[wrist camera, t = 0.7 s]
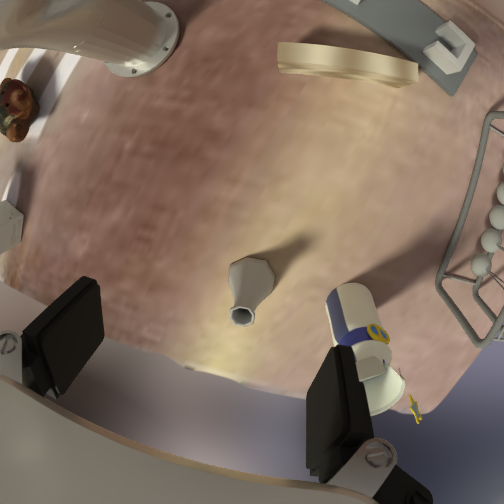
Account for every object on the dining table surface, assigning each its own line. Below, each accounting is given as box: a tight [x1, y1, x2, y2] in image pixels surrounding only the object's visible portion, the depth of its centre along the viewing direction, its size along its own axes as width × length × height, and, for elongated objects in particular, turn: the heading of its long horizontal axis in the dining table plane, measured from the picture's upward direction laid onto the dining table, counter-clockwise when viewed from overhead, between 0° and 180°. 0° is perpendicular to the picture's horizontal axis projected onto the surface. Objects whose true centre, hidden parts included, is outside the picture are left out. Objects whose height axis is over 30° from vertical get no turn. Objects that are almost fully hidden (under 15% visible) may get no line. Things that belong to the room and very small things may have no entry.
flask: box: [228, 257, 275, 327], centre depth 40 cm, size 7×7×10 cm
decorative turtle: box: [0, 78, 40, 142], centre depth 33 cm, size 10×15×8 cm, turn 36°
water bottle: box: [326, 283, 422, 424], centre depth 33 cm, size 8×8×25 cm
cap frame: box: [321, 0, 477, 96], centre depth 24 cm, size 25×10×5 cm, turn 58°
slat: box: [278, 42, 418, 88], centre depth 28 cm, size 16×2×7 cm, turn 88°
